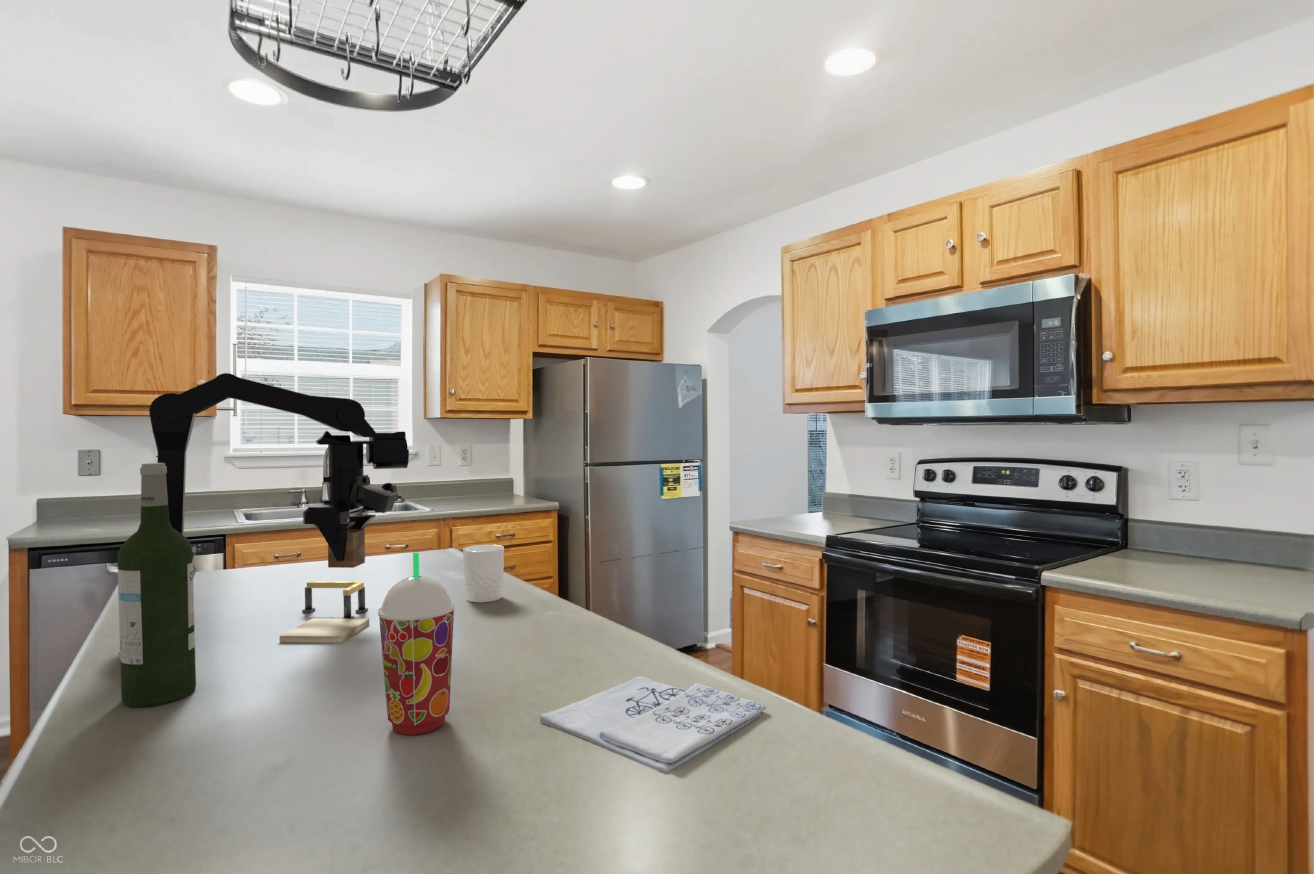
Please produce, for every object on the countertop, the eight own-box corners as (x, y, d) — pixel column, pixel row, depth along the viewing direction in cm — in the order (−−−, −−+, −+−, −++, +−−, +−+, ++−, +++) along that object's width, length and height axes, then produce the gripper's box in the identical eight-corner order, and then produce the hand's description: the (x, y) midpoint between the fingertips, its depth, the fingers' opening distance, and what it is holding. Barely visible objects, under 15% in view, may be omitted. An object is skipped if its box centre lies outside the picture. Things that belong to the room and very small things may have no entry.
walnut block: (353, 567, 124) (353, 533, 124) (328, 567, 125) (327, 533, 124) (364, 562, 129) (364, 529, 129) (340, 562, 129) (340, 529, 129)
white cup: (513, 596, 142) (512, 546, 142) (484, 605, 136) (483, 553, 135) (484, 591, 146) (484, 543, 146) (455, 600, 140) (454, 549, 140)
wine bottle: (210, 687, 95) (205, 461, 94) (154, 710, 87) (147, 465, 87) (164, 681, 97) (158, 461, 96) (105, 704, 90) (98, 465, 89)
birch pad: (341, 642, 114) (341, 636, 114) (279, 642, 114) (279, 635, 114) (369, 624, 124) (369, 618, 124) (312, 624, 124) (312, 618, 124)
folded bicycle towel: (667, 780, 71) (667, 759, 71) (535, 724, 84) (534, 706, 84) (769, 718, 85) (769, 700, 85) (643, 679, 98) (642, 663, 98)
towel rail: (349, 621, 126) (349, 590, 125) (285, 621, 126) (284, 590, 126) (368, 610, 133) (367, 581, 133) (306, 610, 133) (306, 581, 133)
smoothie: (380, 716, 85) (377, 549, 85) (453, 705, 88) (450, 544, 88) (379, 746, 77) (376, 562, 77) (459, 733, 80) (456, 556, 80)
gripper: (368, 474, 117) (368, 569, 117) (410, 466, 135) (411, 549, 136) (301, 473, 117) (301, 568, 117) (352, 466, 136) (353, 548, 136)
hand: (346, 558), depth 127 cm, fingers closed on walnut block, 4 cm apart
